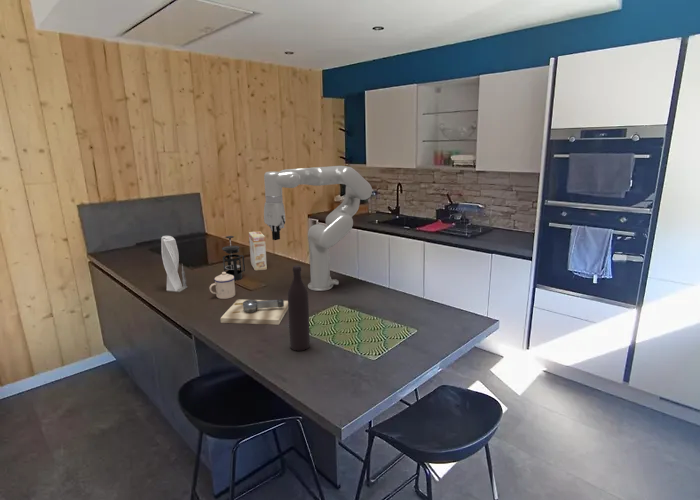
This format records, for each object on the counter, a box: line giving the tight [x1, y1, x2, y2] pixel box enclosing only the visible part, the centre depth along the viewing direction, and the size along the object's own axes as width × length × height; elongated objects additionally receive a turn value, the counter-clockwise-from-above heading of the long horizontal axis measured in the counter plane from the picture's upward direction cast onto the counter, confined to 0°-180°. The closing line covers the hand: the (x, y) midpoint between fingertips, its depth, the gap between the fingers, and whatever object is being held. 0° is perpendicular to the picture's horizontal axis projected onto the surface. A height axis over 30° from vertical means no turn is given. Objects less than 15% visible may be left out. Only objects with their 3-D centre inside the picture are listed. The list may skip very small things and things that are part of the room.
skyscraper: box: [160, 235, 188, 293], centre depth 199 cm, size 8×8×28 cm
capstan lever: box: [234, 298, 285, 312], centre depth 173 cm, size 20×6×3 cm, turn 100°
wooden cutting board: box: [220, 299, 288, 326], centre depth 174 cm, size 24×20×3 cm
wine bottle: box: [287, 264, 311, 352], centre depth 143 cm, size 7×7×30 cm
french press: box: [221, 235, 246, 282], centre depth 216 cm, size 12×9×23 cm
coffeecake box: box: [248, 230, 268, 272], centre depth 236 cm, size 15×7×20 cm, turn 22°
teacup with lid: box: [209, 271, 236, 300], centre depth 192 cm, size 12×9×12 cm
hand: (276, 239), depth 188 cm, fingers closed
